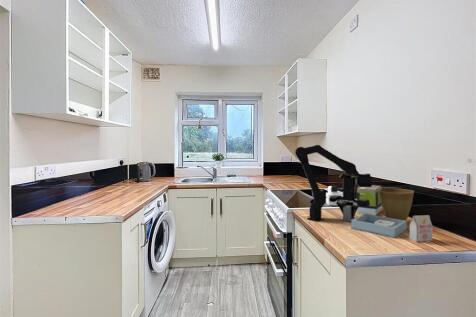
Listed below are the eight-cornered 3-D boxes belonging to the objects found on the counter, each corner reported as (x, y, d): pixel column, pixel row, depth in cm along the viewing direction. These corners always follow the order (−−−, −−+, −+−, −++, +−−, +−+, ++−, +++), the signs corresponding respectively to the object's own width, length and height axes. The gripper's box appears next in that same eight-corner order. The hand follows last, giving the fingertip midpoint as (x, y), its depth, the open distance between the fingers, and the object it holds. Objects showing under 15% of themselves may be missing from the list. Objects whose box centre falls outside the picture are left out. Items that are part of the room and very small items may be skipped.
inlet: (390, 232, 115) (390, 225, 115) (373, 228, 120) (373, 222, 120) (395, 229, 120) (395, 222, 119) (379, 225, 125) (379, 219, 124)
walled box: (394, 238, 110) (394, 228, 109) (351, 228, 123) (351, 220, 123) (406, 229, 120) (406, 220, 120) (365, 221, 134) (366, 213, 134)
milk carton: (409, 239, 109) (409, 214, 108) (424, 238, 109) (425, 214, 109) (416, 242, 105) (416, 217, 104) (432, 241, 106) (432, 216, 105)
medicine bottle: (336, 203, 178) (336, 185, 178) (339, 205, 171) (339, 187, 170) (325, 203, 179) (325, 185, 178) (328, 205, 172) (328, 187, 171)
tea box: (363, 208, 163) (363, 184, 162) (382, 210, 156) (382, 185, 156) (356, 213, 151) (356, 187, 150) (376, 216, 145) (376, 189, 144)
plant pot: (407, 219, 137) (407, 188, 137) (418, 227, 123) (418, 193, 122) (375, 217, 141) (375, 187, 141) (382, 225, 127) (383, 192, 126)
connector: (350, 221, 133) (350, 207, 133) (343, 220, 136) (343, 205, 136) (354, 220, 136) (354, 205, 136) (346, 218, 139) (346, 204, 139)
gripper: (374, 187, 134) (374, 217, 135) (339, 183, 148) (339, 211, 148) (365, 189, 127) (364, 222, 127) (328, 185, 140) (328, 215, 141)
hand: (348, 217), depth 136 cm, fingers closed on connector, 4 cm apart
